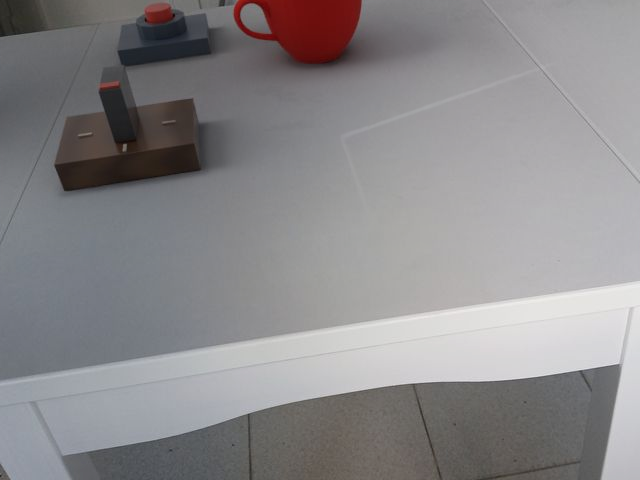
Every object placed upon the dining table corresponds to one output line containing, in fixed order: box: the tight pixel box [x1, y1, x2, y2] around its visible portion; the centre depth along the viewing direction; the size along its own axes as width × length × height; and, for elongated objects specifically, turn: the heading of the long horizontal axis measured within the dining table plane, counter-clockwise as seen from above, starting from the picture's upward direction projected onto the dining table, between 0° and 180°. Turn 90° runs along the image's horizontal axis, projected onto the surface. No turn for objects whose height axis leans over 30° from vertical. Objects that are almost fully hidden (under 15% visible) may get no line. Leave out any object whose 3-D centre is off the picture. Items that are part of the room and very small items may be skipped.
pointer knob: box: [97, 64, 139, 143], centre depth 74 cm, size 6×2×6 cm, turn 10°
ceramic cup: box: [232, 0, 363, 64], centre depth 91 cm, size 13×17×10 cm
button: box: [143, 2, 174, 23], centre depth 98 cm, size 4×4×2 cm
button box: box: [116, 8, 212, 67], centre depth 100 cm, size 12×10×4 cm
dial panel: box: [53, 97, 202, 192], centre depth 77 cm, size 14×11×3 cm
